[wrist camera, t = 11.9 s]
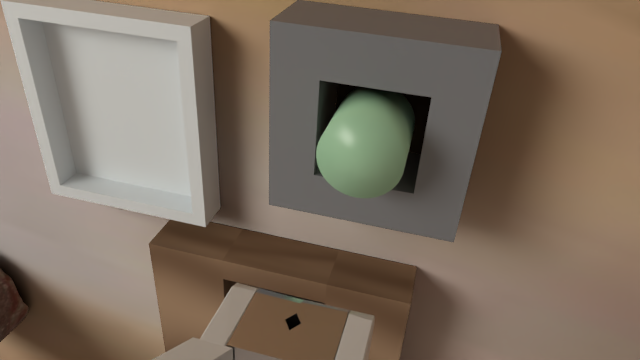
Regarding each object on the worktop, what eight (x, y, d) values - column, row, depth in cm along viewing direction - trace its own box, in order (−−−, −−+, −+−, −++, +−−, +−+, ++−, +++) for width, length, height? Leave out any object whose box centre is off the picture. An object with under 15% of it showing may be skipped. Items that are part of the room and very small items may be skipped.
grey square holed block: (298, -1, 18) (269, 20, 16) (498, 24, 17) (501, 51, 15) (292, 166, 22) (268, 204, 20) (457, 197, 21) (453, 242, 18)
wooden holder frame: (174, 214, 26) (148, 243, 24) (416, 266, 23) (410, 303, 21) (195, 391, 33) (176, 424, 31) (379, 443, 31) (373, 483, 29)
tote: (30, -9, 21) (0, 0, 20) (209, 16, 20) (190, 26, 18) (73, 177, 26) (51, 193, 25) (220, 207, 24) (205, 227, 23)
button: (340, 78, 18) (318, 112, 16) (421, 90, 17) (411, 127, 15) (335, 148, 19) (313, 189, 17) (408, 161, 19) (398, 205, 16)
